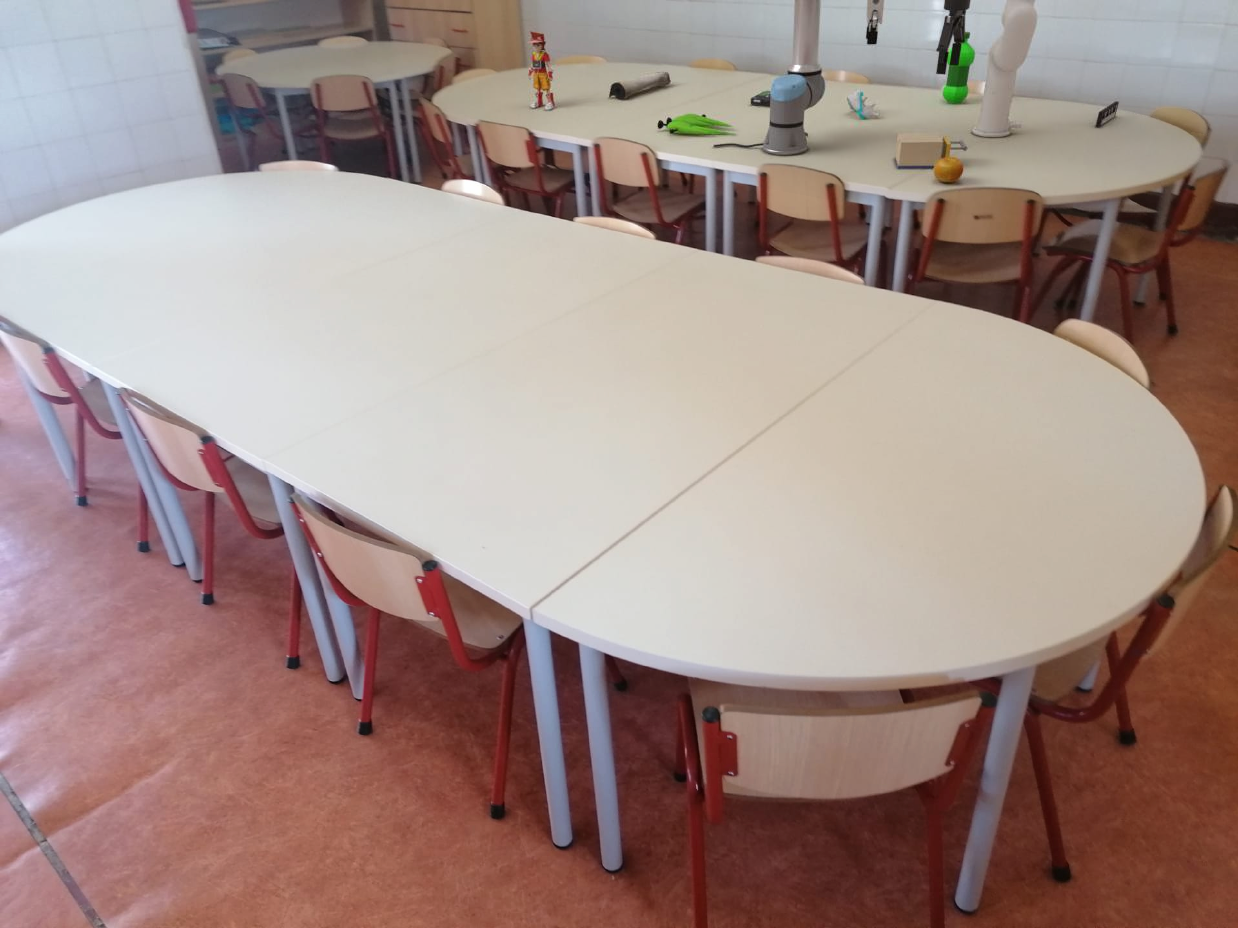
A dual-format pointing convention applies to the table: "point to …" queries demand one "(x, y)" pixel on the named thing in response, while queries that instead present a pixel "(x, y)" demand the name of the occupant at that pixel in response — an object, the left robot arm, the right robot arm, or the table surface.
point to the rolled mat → (638, 84)
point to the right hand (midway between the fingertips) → (871, 41)
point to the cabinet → (918, 150)
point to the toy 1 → (541, 71)
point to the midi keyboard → (1107, 113)
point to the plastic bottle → (959, 74)
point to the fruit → (948, 169)
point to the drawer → (947, 147)
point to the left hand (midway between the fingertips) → (947, 69)
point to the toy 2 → (692, 125)
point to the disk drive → (761, 99)
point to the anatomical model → (861, 105)
